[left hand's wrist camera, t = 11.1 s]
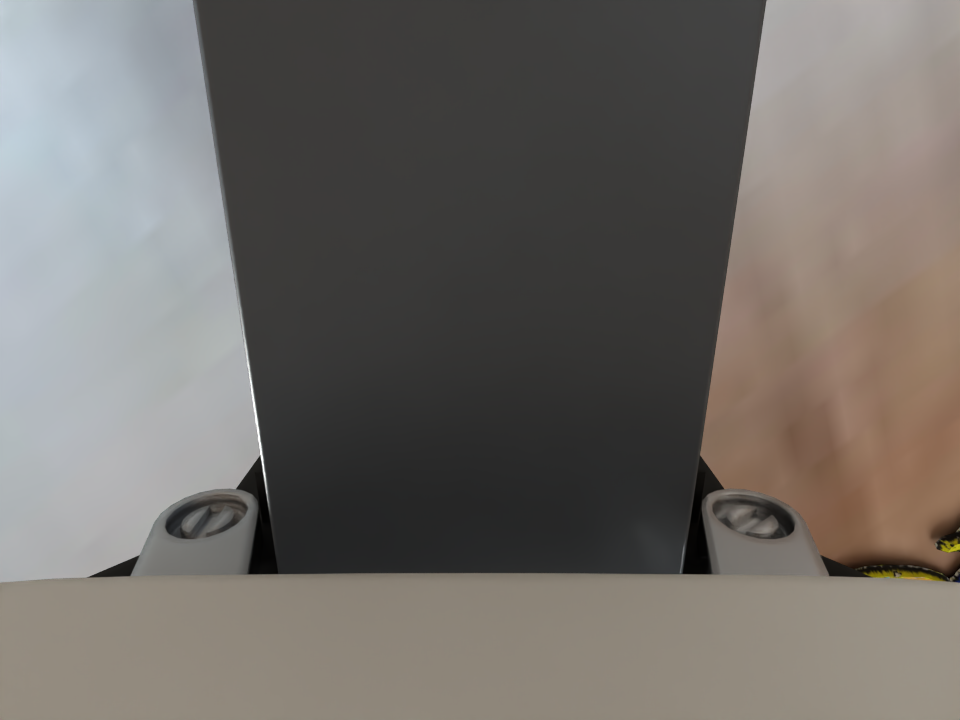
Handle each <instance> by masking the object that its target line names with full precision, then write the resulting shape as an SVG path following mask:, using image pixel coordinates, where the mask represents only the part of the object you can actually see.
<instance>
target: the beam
mask: <svg viewBox="0 0 960 720" xmlns="http://www.w3.org/2000/svg"><path fill="white" fill-rule="evenodd" d="M193 5H194V12H195V19H196V25H197V32H198V39H199V45H200V52H201V59H202V66H203V72H204V79H205V86H206V92H207V99H208V106H209V113H210V119H211V126H212V133H213V139H214V146H215V153H216V159H217V166H218V173H219V180H220V186H221V193H222V200H223V206H224V213H225V220H226V227H227V233H228V240H229V247H230V253H231V260H232V267H233V273H234V280H235V287H236V294H237V300H238V307H239V314H240V320H241V327H242V334H243V340H244V347H245V354H246V361H247V367H248V374H249V381H250V387H251V394H252V401H253V408H254V414H255V421H256V428H257V434H258V441H259V448H260V454H261V461H262V468H263V475H264V481H265V488H266V495H267V501H268V508H269V515H270V522H271V528H272V535H273V542H274V548H275V555H276V562H277V568H278V574H349V573H587V574H683V567H684V560H685V553H686V547H687V540H688V533H689V526H690V519H691V512H692V505H693V499H694V492H695V485H696V478H697V471H698V464H699V458H700V451H701V444H702V437H703V430H704V423H705V416H706V410H707V403H708V396H709V389H710V382H711V375H712V369H713V362H714V355H715V348H716V341H717V334H718V327H719V321H720V314H721V307H722V300H723V293H724V286H725V279H726V273H727V266H728V259H729V252H730V245H731V238H732V232H733V225H734V218H735V211H736V204H737V197H738V190H739V184H740V177H741V170H742V163H743V156H744V149H745V142H746V136H747V129H748V122H749V115H750V108H751V101H752V95H753V88H754V81H755V74H756V67H757V60H758V53H759V47H760V40H761V33H762V26H763V19H764V12H765V6H766V0H193Z"/></svg>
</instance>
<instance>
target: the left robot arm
mask: <svg viewBox="0 0 960 720" xmlns="http://www.w3.org/2000/svg"><path fill="white" fill-rule="evenodd" d="M0 720H960V583H957V582H945V581H930V580H914V579H898V578H873V577H871V576H868V575H866V574H864V573H861V572H859V571H856V570H854V569H852V568H849V567H847V566H845V565H842V564H840V563H838V562H835V561H833V560H831V559H828V558H826V557H824V556H821V555H820V554H819V551H818V549H817V547H816V545H815V542H814V540H813V538H812V536H811V533H810V531H809V529H808V527H807V524H806V522H805V521H804V520H803V518H802V517H801V515H800V514H799V513H798V512H797V511H795V510H794V509H793V508H792V507H790V506H789V505H787V504H786V503H784V502H782V501H780V500H778V499H776V498H774V497H771V496H768V495H765V494H763V493H760V492H755V491H750V490H745V489H724V488H723V487H722V485H721V484H720V482H719V481H718V480H717V478H716V477H715V475H714V474H713V473H712V471H711V470H710V468H709V467H708V466H707V464H706V463H705V462H704V460H703V459H702V457H701V456H700V458H699V464H698V471H697V478H696V485H695V492H694V499H693V505H692V512H691V519H690V526H689V533H688V540H687V547H686V553H685V560H684V567H683V574H587V573H349V574H278V568H277V562H276V555H275V548H274V542H273V535H272V528H271V522H270V515H269V508H268V501H267V495H266V488H265V481H264V475H263V468H262V461H261V455H260V456H259V458H258V459H257V461H256V462H255V463H254V465H253V466H252V468H251V469H250V470H249V472H248V473H247V474H246V476H245V477H244V479H243V480H242V481H241V483H240V484H239V486H238V487H237V488H236V489H215V490H210V491H205V492H200V493H197V494H195V495H192V496H189V497H186V498H184V499H182V500H180V501H178V502H176V503H174V504H173V505H171V506H170V507H168V508H167V509H166V510H165V511H163V512H162V513H161V514H160V515H159V517H158V518H157V520H156V521H155V522H154V524H153V527H152V529H151V531H150V533H149V536H148V538H147V540H146V542H145V545H144V547H143V549H142V551H141V554H140V555H139V556H137V557H134V558H132V559H130V560H127V561H125V562H123V563H120V564H118V565H116V566H113V567H111V568H109V569H106V570H104V571H102V572H99V573H97V574H94V575H92V576H90V577H87V578H63V579H44V580H31V581H17V582H3V583H0Z"/></svg>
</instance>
